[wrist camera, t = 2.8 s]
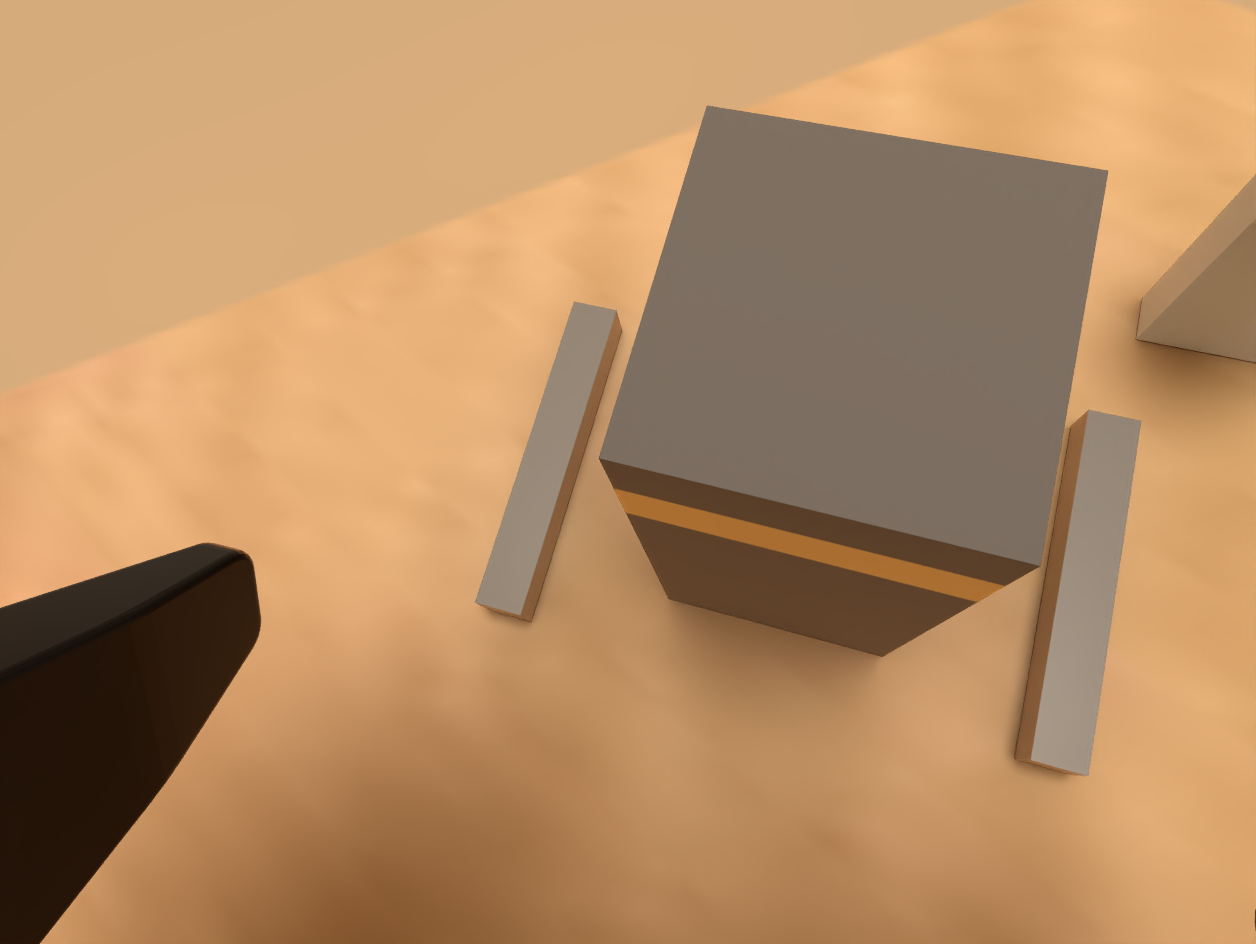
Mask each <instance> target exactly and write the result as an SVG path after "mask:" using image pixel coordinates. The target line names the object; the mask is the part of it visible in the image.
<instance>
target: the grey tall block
mask: <svg viewBox="0 0 1256 944" xmlns="http://www.w3.org/2000/svg"><path fill="white" fill-rule="evenodd" d="M1107 176H1108V171H1107V170H1101V169H1095V168H1089V167H1082V166H1076V165H1070V164H1064V163H1058V162H1052V161H1045V160H1039V159H1033V158H1027V157H1021V156H1015V155H1008V154H1002V153H996V152H990V151H984V150H978V149H971V148H965V147H959V146H953V145H947V144H941V143H934V142H928V141H922V140H916V139H910V138H904V137H897V136H891V135H885V134H879V133H873V132H867V131H860V130H854V129H848V128H842V127H836V126H830V125H823V124H817V123H811V122H805V121H799V120H793V119H786V118H780V117H774V116H768V115H762V114H756V113H750V112H743V111H737V110H731V109H724V108H718V107H713V106H707V107H706V111H705V114H704V117H703V120H702V123H701V127H700V130H699V133H698V136H697V140H696V143H695V146H694V149H693V153H692V156H691V159H690V162H689V166H688V169H687V172H686V175H685V179H684V182H683V185H682V189H681V192H680V195H679V198H678V202H677V205H676V208H675V211H674V215H673V218H672V221H671V224H670V228H669V231H668V234H667V237H666V241H665V244H664V247H663V251H662V254H661V257H660V260H659V264H658V267H657V270H656V273H655V277H654V280H653V283H652V286H651V290H650V293H649V296H648V299H647V303H646V306H645V309H644V313H643V316H642V319H641V322H640V326H639V329H638V332H637V335H636V339H635V342H634V345H633V348H632V352H631V355H630V358H629V361H628V365H627V368H626V371H625V374H624V378H623V381H622V384H621V388H620V391H619V394H618V397H617V401H616V404H615V407H614V410H613V414H612V417H611V420H610V423H609V427H608V430H607V433H606V436H605V440H604V443H603V446H602V450H601V453H600V456H599V460H600V462H601V464H602V466H603V468H604V470H605V472H606V474H607V476H608V478H609V480H610V482H611V484H612V486H613V488H614V490H615V492H616V494H617V496H618V498H619V500H620V502H621V504H622V506H623V508H624V510H625V512H626V514H627V516H628V518H629V520H630V522H631V524H632V526H633V528H634V530H635V532H636V534H637V536H638V538H639V540H640V542H641V544H642V546H643V548H644V550H645V552H646V554H647V556H648V558H649V560H650V562H651V564H652V566H653V568H654V570H655V572H656V574H657V576H658V578H659V580H660V582H661V584H662V586H663V588H664V590H665V592H666V594H667V596H668V598H669V599H671V600H675V601H679V602H682V603H686V604H690V605H693V606H697V607H701V608H705V609H708V610H712V611H716V612H719V613H723V614H727V615H730V616H734V617H738V618H741V619H745V620H749V621H753V622H756V623H760V624H764V625H767V626H771V627H775V628H778V629H782V630H786V631H790V632H793V633H797V634H801V635H804V636H808V637H812V638H815V639H819V640H823V641H826V642H830V643H834V644H838V645H841V646H845V647H849V648H852V649H856V650H860V651H863V652H867V653H871V654H874V655H878V656H882V657H883V656H884V655H886V654H888V653H890V652H891V651H893V650H895V649H897V648H898V647H900V646H902V645H904V644H905V643H907V642H909V641H911V640H912V639H914V638H916V637H917V636H919V635H921V634H923V633H924V632H926V631H928V630H930V629H931V628H933V627H935V626H937V625H938V624H940V623H942V622H944V621H945V620H947V619H949V618H951V617H952V616H954V615H956V614H958V613H959V612H961V611H963V610H965V609H966V608H968V607H970V606H972V605H973V604H975V603H977V602H979V601H980V600H982V599H984V598H985V597H987V596H989V595H991V594H992V593H994V592H996V591H998V590H999V589H1001V588H1003V587H1005V586H1006V585H1008V584H1010V583H1012V582H1013V581H1015V580H1017V579H1019V578H1020V577H1022V576H1024V575H1026V574H1027V573H1029V572H1031V571H1033V570H1034V569H1036V568H1038V567H1040V566H1041V560H1042V554H1043V549H1044V543H1045V537H1046V531H1047V525H1048V519H1049V514H1050V508H1051V502H1052V496H1053V490H1054V485H1055V479H1056V473H1057V467H1058V461H1059V455H1060V450H1061V444H1062V438H1063V432H1064V426H1065V420H1066V415H1067V409H1068V403H1069V397H1070V391H1071V385H1072V380H1073V374H1074V368H1075V362H1076V356H1077V351H1078V345H1079V339H1080V333H1081V327H1082V321H1083V316H1084V310H1085V304H1086V298H1087V292H1088V286H1089V281H1090V275H1091V269H1092V263H1093V257H1094V252H1095V246H1096V240H1097V234H1098V228H1099V222H1100V217H1101V211H1102V205H1103V199H1104V193H1105V187H1106V182H1107Z"/></svg>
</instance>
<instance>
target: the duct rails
mask: <svg viewBox="0 0 1256 944" xmlns="http://www.w3.org/2000/svg"><path fill="white" fill-rule="evenodd" d="M621 332H622V328H621V325H620V321H619V318H618V314H617V311H616V310H612V309H607V308H602V307H597V306H593V305H588V304H583V303H578V302H574V303H573V306H572V309H571V312H570V315H569V318H568V322H567V325H566V328H565V331H564V334H563V337H562V340H561V343H560V346H559V349H558V352H557V355H556V358H555V361H554V364H553V367H552V370H551V373H550V376H549V379H548V382H547V385H546V388H545V391H544V394H543V398H542V401H541V404H540V407H539V410H538V413H537V416H536V419H535V422H534V425H533V428H532V431H531V434H530V437H529V440H528V443H527V446H526V449H525V452H524V455H523V458H522V461H521V464H520V467H519V471H518V474H517V477H516V480H515V483H514V486H513V489H512V492H511V495H510V498H509V501H508V504H507V507H506V510H505V513H504V516H503V519H502V522H501V525H500V528H499V531H498V534H497V537H496V540H495V543H494V547H493V550H492V553H491V556H490V559H489V562H488V565H487V568H486V571H485V574H484V577H483V580H482V583H481V586H480V589H479V592H478V595H477V598H476V601H475V603H477V604H479V605H481V606H483V607H485V608H487V609H489V610H492V611H496V612H500V613H503V614H507V615H510V616H514V617H517V618H521V619H524V620H528V621H532V617H533V614H534V611H535V608H536V605H537V601H538V598H539V595H540V592H541V589H542V585H543V582H544V579H545V576H546V572H547V569H548V566H549V563H550V560H551V556H552V553H553V550H554V547H555V544H556V540H557V537H558V534H559V531H560V528H561V524H562V521H563V518H564V515H565V511H566V508H567V505H568V502H569V499H570V495H571V492H572V489H573V486H574V483H575V479H576V476H577V473H578V470H579V467H580V463H581V460H582V457H583V454H584V450H585V447H586V444H587V441H588V438H589V434H590V431H591V428H592V425H593V422H594V418H595V415H596V412H597V409H598V405H599V402H600V399H601V396H602V393H603V389H604V386H605V383H606V380H607V377H608V373H609V370H610V367H611V364H612V361H613V357H614V354H615V351H616V348H617V344H618V341H619V338H620V335H621ZM1136 339H1138V340H1143V341H1148V342H1153V343H1158V344H1163V345H1169V346H1174V347H1179V348H1184V349H1189V350H1194V351H1199V352H1205V353H1210V354H1215V355H1220V356H1225V357H1230V358H1235V359H1241V360H1246V361H1251V362H1256V175H1255V176H1254V177H1253V178H1252V179H1251V180H1250V181H1249V182H1248V183H1247V185H1246V186H1245V187H1244V188H1243V189H1242V190H1241V191H1240V192H1239V193H1238V194H1237V195H1236V197H1235V198H1234V199H1233V200H1232V201H1231V202H1230V203H1229V204H1228V205H1227V206H1226V207H1225V209H1224V210H1223V211H1222V212H1221V213H1220V214H1219V215H1218V216H1217V217H1216V218H1215V220H1214V221H1213V222H1212V223H1211V224H1210V225H1209V226H1208V227H1207V228H1206V229H1205V230H1204V232H1203V233H1202V234H1201V235H1200V236H1199V237H1198V238H1197V239H1196V240H1195V241H1194V242H1193V244H1192V245H1191V246H1190V247H1189V248H1188V249H1187V250H1186V251H1185V252H1184V253H1183V254H1182V256H1181V257H1180V258H1179V259H1178V260H1177V261H1176V262H1175V263H1174V264H1173V265H1172V266H1171V268H1170V269H1169V270H1168V271H1167V272H1166V273H1165V274H1164V275H1163V276H1162V277H1161V279H1160V280H1159V281H1158V282H1157V283H1156V284H1155V285H1154V286H1153V287H1152V288H1151V289H1150V291H1149V292H1148V293H1147V294H1146V295H1145V296H1144V297H1143V298H1142V304H1141V310H1140V317H1139V323H1138V330H1137V336H1136ZM1140 426H1141V421H1139V420H1134V419H1130V418H1125V417H1120V416H1115V415H1111V414H1106V413H1101V412H1096V411H1092V410H1088V411H1087V412H1086V413H1085V414H1084V415H1083V416H1082V417H1080V418H1079V419H1078V420H1077V421H1076V422H1075V423H1074V424H1073V425H1072V426H1071V430H1070V436H1069V442H1068V447H1067V453H1066V459H1065V465H1064V471H1063V477H1062V483H1061V489H1060V495H1059V501H1058V506H1057V512H1056V518H1055V524H1054V530H1053V536H1052V542H1051V548H1050V554H1049V560H1048V565H1047V571H1046V577H1045V583H1044V589H1043V595H1042V601H1041V607H1040V613H1039V618H1038V624H1037V630H1036V636H1035V642H1034V648H1033V654H1032V660H1031V666H1030V672H1029V677H1028V683H1027V689H1026V695H1025V701H1024V707H1023V713H1022V719H1021V725H1020V730H1019V736H1018V742H1017V748H1016V754H1015V759H1017V760H1020V761H1024V762H1027V763H1031V764H1034V765H1038V766H1042V767H1045V768H1049V769H1052V770H1056V771H1059V772H1063V773H1066V774H1071V775H1081V776H1088V775H1089V768H1090V761H1091V755H1092V748H1093V741H1094V735H1095V728H1096V721H1097V715H1098V708H1099V701H1100V694H1101V688H1102V681H1103V674H1104V668H1105V661H1106V654H1107V647H1108V641H1109V634H1110V627H1111V621H1112V614H1113V607H1114V601H1115V594H1116V587H1117V580H1118V574H1119V567H1120V560H1121V554H1122V547H1123V540H1124V533H1125V527H1126V520H1127V513H1128V507H1129V500H1130V493H1131V486H1132V480H1133V473H1134V466H1135V460H1136V453H1137V446H1138V440H1139V433H1140Z"/></svg>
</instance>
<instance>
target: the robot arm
mask: <svg viewBox="0 0 1256 944" xmlns="http://www.w3.org/2000/svg"><path fill="white" fill-rule="evenodd" d="M260 627H261V614H260V607H259V600H258V592H257V585H256V578H255V571H254V565H253V561H252V560H251V558H250V556H249V555H248V554H247V553H245V552H244V551H242V550H238V549H235V548H231V547H227V546H223V545H219V544H215V543H201V544H198V545H195V546H192V547H188V548H185V549H182V550H179V551H176V552H173V553H170V554H167V555H164V556H160V557H157V558H154V559H151V560H148V561H145V562H142V563H139V564H135V565H132V566H129V567H126V568H123V569H120V570H117V571H114V572H111V573H107V574H104V575H101V576H98V577H95V578H92V579H89V580H86V581H83V582H79V583H76V584H73V585H70V586H67V587H64V588H61V589H58V590H55V591H51V592H48V593H45V594H42V595H39V596H36V597H33V598H30V599H27V600H23V601H20V602H17V603H14V604H11V605H8V606H5V607H2V608H0V944H40V943H41V941H42V940H43V939H44V938H45V936H46V935H47V934H48V933H49V931H50V930H51V929H52V927H53V926H54V925H55V924H56V922H57V921H58V920H59V919H60V917H61V916H62V915H63V914H64V912H65V911H66V910H67V908H68V907H69V906H70V905H71V903H72V902H73V901H74V900H75V898H76V897H77V896H78V894H79V893H80V892H81V891H82V889H83V888H84V887H85V886H86V884H87V883H88V882H89V880H90V879H91V878H92V877H93V875H94V874H95V873H96V872H97V870H98V869H99V868H100V867H101V865H102V864H103V863H104V861H105V860H106V859H107V858H108V856H109V855H110V854H111V853H112V851H113V850H114V849H115V847H116V846H117V845H118V844H119V842H120V841H121V840H122V839H123V837H124V836H125V835H126V834H127V832H128V831H129V830H130V828H131V827H132V826H133V825H134V823H135V822H136V821H137V820H138V818H139V817H140V816H141V814H142V813H143V812H144V811H145V809H146V808H147V807H148V806H149V804H150V803H151V802H152V800H153V799H154V798H155V796H156V795H157V794H158V792H159V791H160V790H161V788H162V787H163V786H164V784H165V783H166V782H167V780H168V779H169V777H170V776H171V774H172V773H173V771H174V770H175V768H176V767H177V766H178V764H179V763H180V761H181V760H182V758H183V757H184V755H185V754H186V752H187V750H188V749H189V747H190V746H191V744H192V743H193V741H194V739H195V738H196V736H197V735H198V733H199V732H200V730H201V729H202V727H203V725H204V724H205V722H206V721H207V719H208V718H209V716H210V714H211V713H212V711H213V710H214V708H215V707H216V705H217V704H218V702H219V700H220V699H221V697H222V696H223V694H224V693H225V691H226V689H227V688H228V686H229V685H230V683H231V682H232V680H233V679H234V677H235V675H236V674H237V672H238V671H239V669H240V668H241V666H242V664H243V663H244V661H245V660H246V658H247V657H248V655H249V654H250V652H251V650H252V649H253V647H254V645H255V643H256V641H257V639H258V636H259V632H260ZM1255 929H1256V911H1255Z"/></svg>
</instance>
